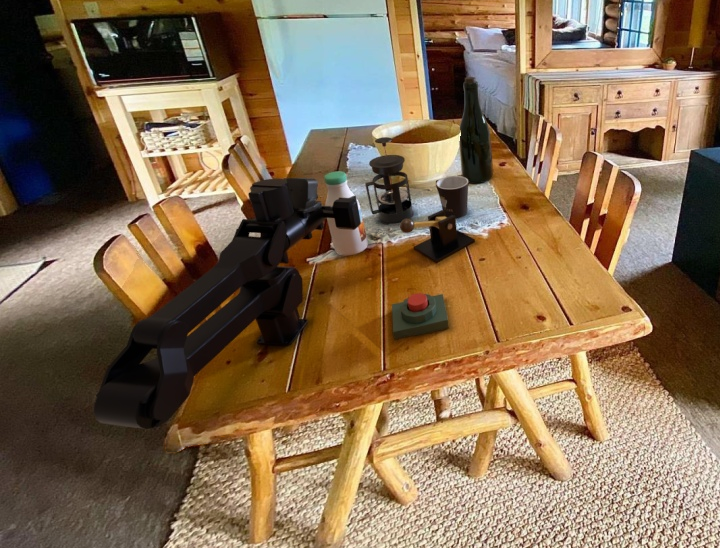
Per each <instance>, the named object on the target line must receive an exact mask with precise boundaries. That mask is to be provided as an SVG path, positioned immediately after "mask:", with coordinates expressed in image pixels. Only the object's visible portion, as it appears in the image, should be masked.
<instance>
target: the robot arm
mask: <svg viewBox="0 0 720 548" xmlns="http://www.w3.org/2000/svg"><path fill="white" fill-rule="evenodd" d="M318 186H319V181H318V180H317V179H316V178H308V177H283V178H266V179H262V180H259V181H256V182H254V183H252V184H251V186H250V187H249V192H248V194H247V195H248V198H249V201H250V204H251V206H252V211H253V213H254V217H253V218H251V219H249V218H242V219H241V221H240V223H239V225H238V227H237V228H236V230H235V233H234V235H233V238H232V240H231V241H230V242H229V243H228V244H227V245H226V246H225V247H224V249H223V250H221V251H220V253H219V256H218V260H217V263H216V264H215V265H214V266H213V267H212V268H210V269H209V270H207V272H205V273H204V274H203V275H201V277H199V278H198V279H196V280H195V281H194V282H193V283H192V284H190V285H189V286H187V287H186V288H185V289H184V290H182V291H181V292H180V293H178V294H177V295H176V296H175V297H173V298H172V299H171V300H170V301H168V302H167V303H166V304H164V305H163V306H162V307H161V308H159V309H158V310H157V311H156V312H154V313H153V314H152V315H151V316H149V317H146V318H143V319H141V320H139V321H137V322H136V324H134V326H133V327H132V330H131V332H130V335H129V337H128V340H127V343H126V346H125V347H124V348H123V349H122V350H121V351H120V352H119V353H118V354H117V355H116V357H115V358H114V359H113V360H112V361H111V363H110V364H109V365H108V366H107V368H106V370H105V373H104V376H103V378H102V381H101V384H100V387H99V390H98V392H97V393H96V395H95V398H96V399H95V402H94V404H93V415H94V419H95V420H96V421H97V422H98V423H100V424H104V425H110V426H117V427H127V428H134V429H140V430H141V429H143V430H149V429H151V430H152V429H157V428H160V427H161V426H163V425H165V424H166V423H167V422H168V421H170V419H171V418H172V417H173V416H174V415H175V413H177V411H178V410H179V408H181V406H182V405H183V404H184V402H185V401H186V400H187V399H188V398H189V397H190V394H191V391H192V386H193V383H194V379H195V377H196V375H198V373H200V372H201V371H202V370H203V369H204V368H205V367H206V366H207V365H208V364H209V363H210V362H212V360H214V359H215V357H217V356H218V355H219V354H220V353H221V352H222V351H223V350H224V349H225V348H226V347H227V346H229V345H230V344H231V343H232V342H233V341H234V340H235V339H236V338H237V337H238V336H239V335H240V334H242V333H243V331H245V330H246V329H247V328H248V327H249V326H250V325H251V324H252V323H253V322H254V321H256V324H257V326H258V329H259V331H260V334H261V335H260V337H259V338H258V339H256V344H257V345H262V346H263V345H266V346H283V347H284V346H286V347H288V346H291V345H292V344H293V343H294V341H296V339H297V337H298V336H299V335H300V334H301V332H302V331H303V329H305V327H306V326H307V324H308V323H309V321H308V319H306V318H301V315H300V312H299V311H298V307H299V306H300V305H301V304H302V303H303V301H304V292H303V291H304V290H303V289H304V287H303V277H302V275H301V274H300V272H299V270H298V269H297V267H293V266H283V265H282V266H280V264H285V265H286V264H288V263H289V262H290V260H289V255H288V251H289V250H290V249H291V248H293V247H294V246H295V245H297V244H298V243H299V242H301V241H302V240H311V239H312V238H313V233H312V232H314V231H316V230H317V231H322V230H323V229H325V223H324V222H325V219H327V218H334V219H335V224H336V227H337V228H339V229H348V230H355V229H356V228H357V227H358V226H359V225H360V224H361V221H360V215H359V209H358V203H357V201H356V200H358V198H357V196H356V195H355V196H352V197H350V198H339V199H337V200H335V201H334V203H333V206H325V204H324V205H323V204H322V201H321V200H318V199H319V195H318ZM356 198H357V199H356ZM251 233H253V234H260V236H251V235H250V234H251ZM237 291H239V292H238V294H237V295H236V296H234V297H233V298H232V299H230V301H228V302H227V303H226V304H225V305H223V306H222V307H221V308H219V307H220V306H221V305H222V304H223V303H224V302H226V301H227V300H228V299H229V298H230V297H231V296H232V295H233V294H235V292H237ZM217 308H219V310H217ZM215 310H217V311H216V312H215V313H213V312H214V311H215ZM212 313H213V314H212ZM211 314H212V315H211ZM210 315H211V316H210ZM209 316H210V317H209ZM208 317H209V318H208ZM206 318H207V319H206ZM205 319H206V320H205ZM204 320H205V321H204ZM203 321H204V322H203ZM202 322H203V323H202ZM201 323H202V324H201ZM153 349H155V350H156V358H153V359H150V360H147V361H145V362H143V361H144V359H145V358H146V357H147V356H148V355H149V353H151V351H152V350H153Z"/></svg>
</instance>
